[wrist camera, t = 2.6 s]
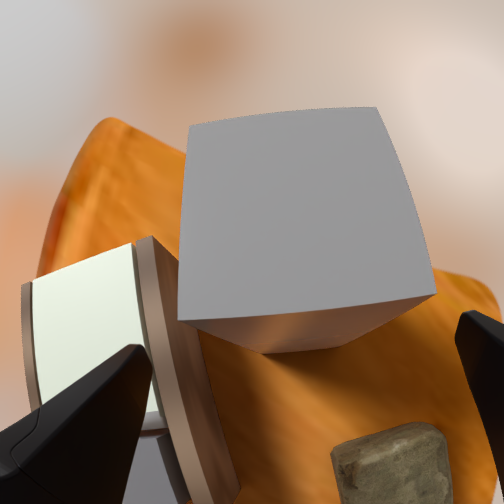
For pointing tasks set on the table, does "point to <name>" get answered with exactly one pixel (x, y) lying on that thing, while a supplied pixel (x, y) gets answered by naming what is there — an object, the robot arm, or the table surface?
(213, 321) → the granite pillar
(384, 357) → the table surface
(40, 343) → the trapdoor flap
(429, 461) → the stone block
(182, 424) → the frame
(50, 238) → the table surface
